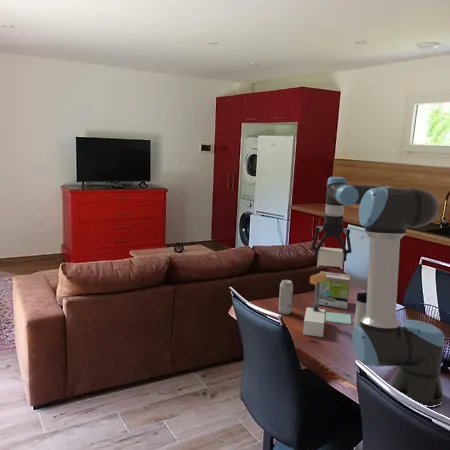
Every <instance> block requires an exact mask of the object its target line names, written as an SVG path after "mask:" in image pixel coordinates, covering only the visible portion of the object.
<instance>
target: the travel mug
mask: <svg viewBox="0 0 450 450" xmlns="http://www.w3.org/2000/svg"><path fill="white" fill-rule="evenodd" d="M355 302H356V303H355V313H354V321H353V322H354V324H353V329H354V328H355V327H357V326H360V322H361V318H362V317H364V316H365V315H366V304H367V292H365V291H364V292H357V294H356V301H355Z"/></svg>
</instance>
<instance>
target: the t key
mask: <svg viewBox="0 0 450 450" xmlns="http://www.w3.org/2000/svg"><path fill="white" fill-rule="evenodd" d="M325 280H326V273H322V272H321V273H320V272H318V273H316V274H312V275H310V276H309V284H311V285H314V298H313V307H312V308H313V310H315V311H318V309H319V298H321V299H324V300H327V301H331V302H335V299H334V298H330V297H327V296H324V295H320V294H319V292H320V282H322V281H325Z"/></svg>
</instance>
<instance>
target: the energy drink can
mask: <svg viewBox="0 0 450 450" xmlns="http://www.w3.org/2000/svg"><path fill="white" fill-rule="evenodd" d="M293 294H294V284H293V281H292V280H289V279H282V280H281V282H280V284H279V295H278V296H279V297H278V312H279V314H281V315H285V316H286V315H287V316H288V315H290V314H291V313H292V312H293V310H292V309H293V297H294V296H293Z"/></svg>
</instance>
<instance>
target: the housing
mask: <svg viewBox="0 0 450 450" xmlns="http://www.w3.org/2000/svg"><path fill="white" fill-rule="evenodd" d="M313 308H314V307H309V306H308V307H306V309H305V315H304V320H303V329H302V335H305V336H311V337H319V338H320V337H321V338H324V329H325V320H326V309H325V308H318V311H315V310H313Z"/></svg>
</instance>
